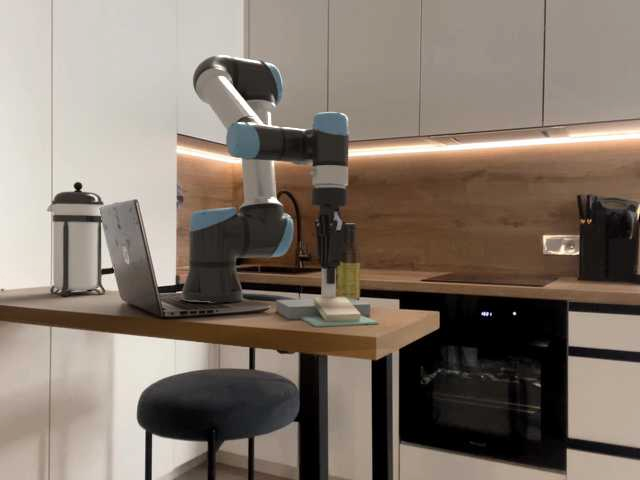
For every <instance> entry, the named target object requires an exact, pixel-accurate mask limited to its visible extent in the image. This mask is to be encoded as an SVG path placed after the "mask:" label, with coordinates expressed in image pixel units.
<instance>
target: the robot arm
mask: <svg viewBox="0 0 640 480" xmlns="http://www.w3.org/2000/svg"><path fill="white" fill-rule="evenodd" d="M283 84H284V83H283V78H282V75H281V72H280V71H279V69H278V67H276V66H275V64H272V63H271V62H270V63H269V62H264V61H263V60H253V59H247V58H242V57H241V58H240V57H235V56H230V55H226V54H223V55H221V54H220V55H219V54H217V55H213V56H210V57H208V58H207V57H206V59H204V60H203V61H202V62H201V63H199V64H198V65H197V67H196V68H195V70H194V72H193V76H192V85H193V89H194V92H195V93H196V95H197V96H198V98H199V100H201V101H202V102H203V103H205V104H207V105H209V107H210V108H211V109H212V111H213V112H214V114H215V116H217V118H218V119H219V121H220V122H221V124H222V125H223V127H224V128H225V130H226V131H227V132H226V136H225V137H226V138H225V139H226V140H225V144H226V147H227V152H228V153H229V155H230V156H231V157H233V158H237V159H241V165H242V166H241V167H242V182H243V197H244V198H243V199H244V201H243V203H242V204H241V205H240V206H239V212H238V210H237V207H234V206H233V207H229V206H228V207H220V208H211V209H202V210H196V211H193V212H192V213H191V215H190V217H189V227H188V232H189V241H188V242H189V246H188V247H189V248H188V249H189V250H188V251H189V252H188V253H189V257H188V263H189V264H188V267H189V268H188V272H187V275H186V279H185V281H184V284H183V288H182V289H181V300H182V299H185V300H199V301H210V302H222V303H221V304H224V303H223V302H230V303H236V302H237V303H238V302H240V301H242V300H243V299H244V298H243V296H244V295H243V293H244V291H243V289H242V285H241V281H240V278H239V275H238V272H237V259H245V258H246V259H250V258H266V259H270V258H278V257H282V256H284V255H286V253H287V252H288V251H289V249H290V246H291V245H292V241H293V238H294V229H295V228H294V222H293V219H292V216H291V215H289V214H288V213H286V212H284V205H283V204H282V203H281V202H280V201H279V200H278V196H277V185H276V183H277V182H276V168H275V162H284V163H285V162H286V163H291V164H294V165H298V166H299V165H302V166H303V165H304V166H305V165H309V164H312V170H310V172H309V173H310V176H312V180H311V181H312V186H314V187H313V189H312V190H311V203H312V206H314V207H319V213H318V216H317V219H315V220H314V226H315V233H316V235H315V236H316V250H317V251H316V252H317V264H318V265H320V268H321V283H320V284H321V285H320V286H321V287H320V288H321V293H320V295H321V297H336V268H337V266H340V262H341V252H342V242H343V232H344V228H345V224H346V220H343V219H342V216H341V214H342V213H341V208H340V207H346V206H348V201H349V200H348V193H349V191H348V189H347V188H346V187H347V186H349V147H350V145H349V140H350V139H349V138H350V136H349V135H350V132H349V119H348V116H347V115H346V114H345V113H342V112H334V111H326V112H325V111H324V112H318V113H316V114H314V116H313V117H312V118H313V119H312V125H311V127H310V128H305V129H304V128H296V127H285V126H277V125H272V114H273V113H274V112H275V111H276V109H277V106H278V105H279V104H280V102H281V101H282V97H283V94H282V93H283V90H284V88H283Z"/></svg>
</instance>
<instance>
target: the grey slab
mask: <svg viewBox="0 0 640 480" xmlns="http://www.w3.org/2000/svg"><path fill="white" fill-rule="evenodd" d="M347 299H348V300H349V301H350V302H351V303H352V305H353V306H354V307H355V308H356V309H357V310H358V311H359V312H360V314H361V315H362V316H364V317H370V316H371V303H368V302H365V301H362V300H360V299H359V300H356V299H353V298H347ZM313 302H314V298H310V299H309V298H307V299H304V298H303V299H300V298H299V299H276V300H275V312H276V313H278V314H280V315H282V316H283V317H285V318H286V319H288V320H297V319H298V320H299V319H301V317H305V316H322V315H321V314H320V313H319V311H318V310H317V308H316V307H315V306H314V304H313ZM301 320H302V319H301Z"/></svg>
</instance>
